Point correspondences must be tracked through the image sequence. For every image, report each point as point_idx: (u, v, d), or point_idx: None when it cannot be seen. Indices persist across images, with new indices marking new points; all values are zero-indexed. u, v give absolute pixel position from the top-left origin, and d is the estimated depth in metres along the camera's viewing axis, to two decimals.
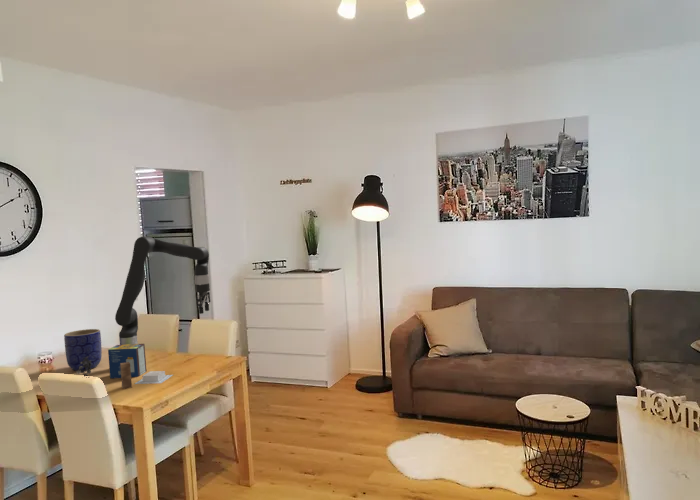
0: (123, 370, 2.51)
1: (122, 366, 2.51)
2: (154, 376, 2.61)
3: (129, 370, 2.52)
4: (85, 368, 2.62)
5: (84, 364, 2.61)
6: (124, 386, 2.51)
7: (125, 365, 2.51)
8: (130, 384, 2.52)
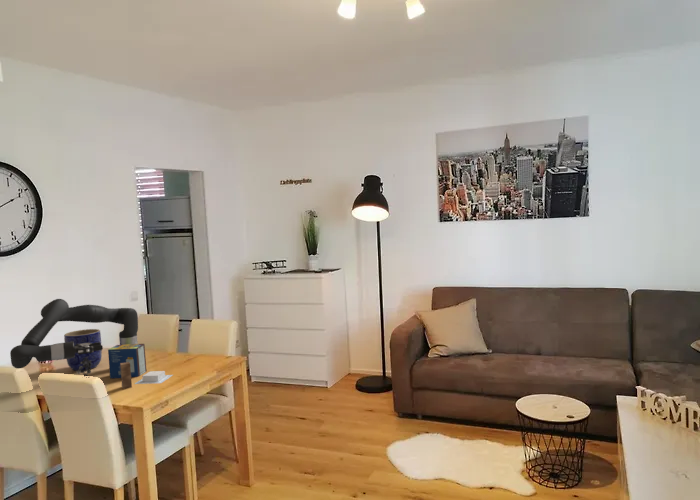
0: (123, 370, 2.51)
1: (122, 366, 2.51)
2: (154, 376, 2.61)
3: (129, 370, 2.52)
4: (85, 368, 2.62)
5: (84, 364, 2.61)
6: (124, 386, 2.51)
7: (125, 365, 2.51)
8: (130, 384, 2.52)
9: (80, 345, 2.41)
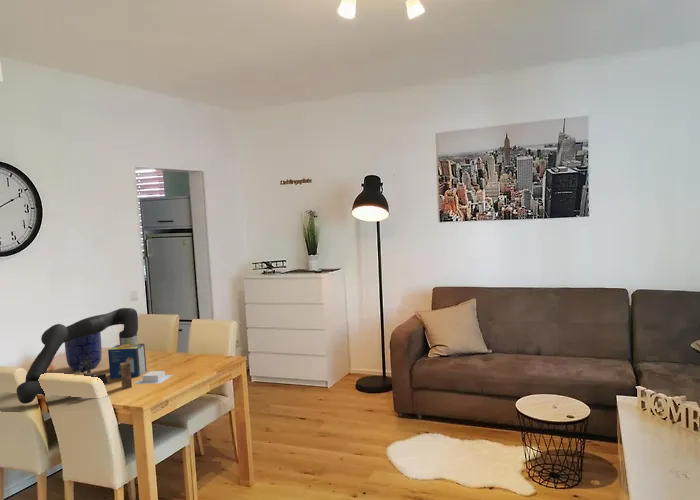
0: (123, 370, 2.51)
1: (122, 366, 2.51)
2: (154, 376, 2.61)
3: (129, 370, 2.52)
4: (85, 368, 2.62)
5: (84, 364, 2.61)
6: (124, 386, 2.51)
7: (125, 365, 2.51)
8: (130, 384, 2.52)
9: None
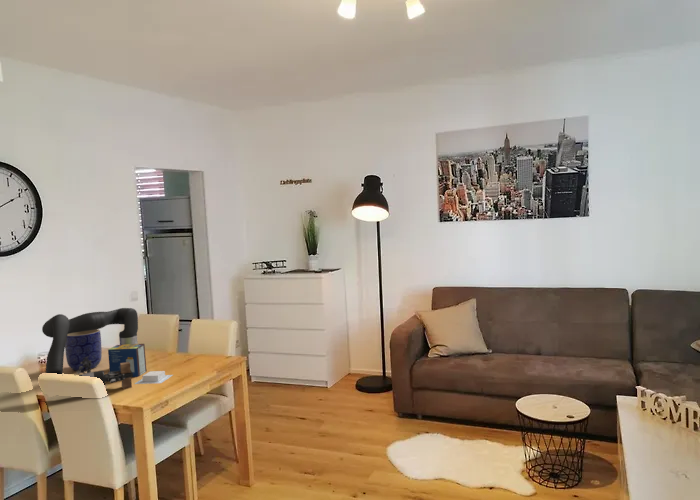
0: (123, 370, 2.51)
1: (122, 366, 2.51)
2: (154, 376, 2.61)
3: (129, 370, 2.52)
4: (85, 368, 2.62)
5: (84, 364, 2.61)
6: (124, 386, 2.51)
7: (125, 365, 2.51)
8: (130, 384, 2.53)
9: (110, 374, 2.48)
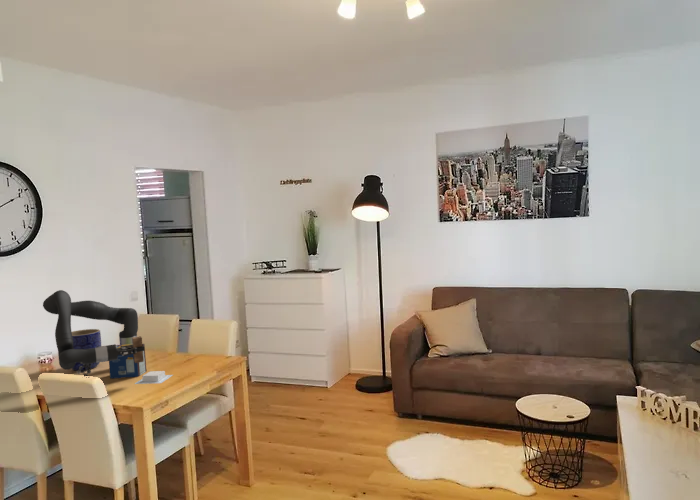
0: (135, 344, 2.56)
1: (134, 340, 2.56)
2: (154, 376, 2.61)
3: (141, 344, 2.57)
4: (85, 368, 2.62)
5: (84, 364, 2.61)
6: (136, 360, 2.56)
7: (137, 339, 2.56)
8: (142, 358, 2.58)
9: (123, 347, 2.53)
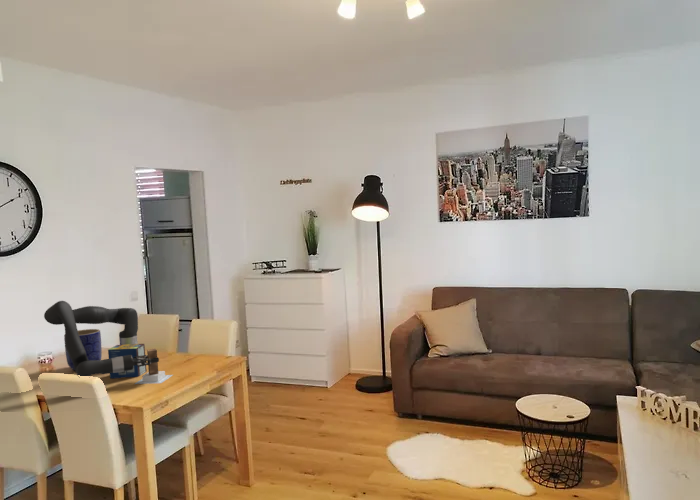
0: (150, 356, 2.62)
1: (149, 352, 2.62)
2: (154, 376, 2.61)
3: (156, 356, 2.63)
4: None
5: None
6: (151, 372, 2.62)
7: (152, 352, 2.62)
8: (157, 370, 2.64)
9: (138, 358, 2.59)
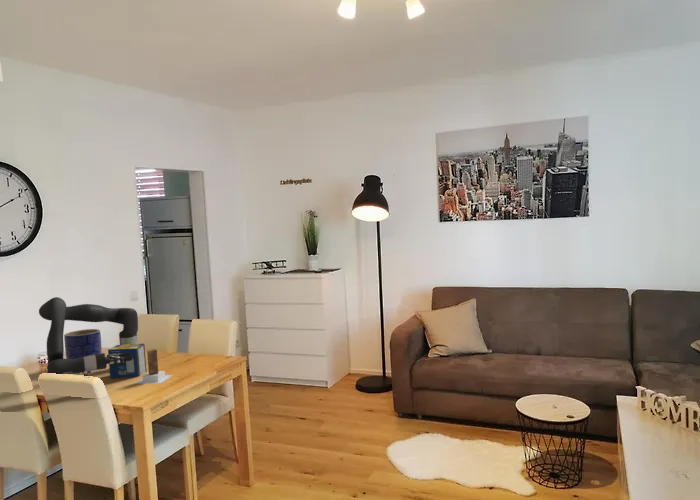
0: (150, 356, 2.62)
1: (149, 352, 2.62)
2: (154, 376, 2.61)
3: (156, 356, 2.63)
4: None
5: None
6: (151, 372, 2.62)
7: (152, 352, 2.62)
8: (157, 370, 2.64)
9: (111, 356, 2.53)
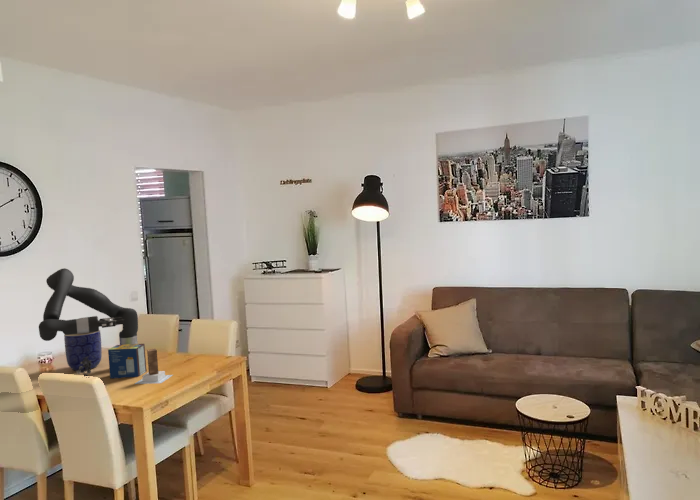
0: (150, 356, 2.62)
1: (149, 352, 2.62)
2: (154, 376, 2.61)
3: (156, 356, 2.63)
4: (85, 368, 2.62)
5: (84, 364, 2.61)
6: (151, 372, 2.62)
7: (152, 352, 2.62)
8: (157, 370, 2.64)
9: (104, 319, 2.52)
